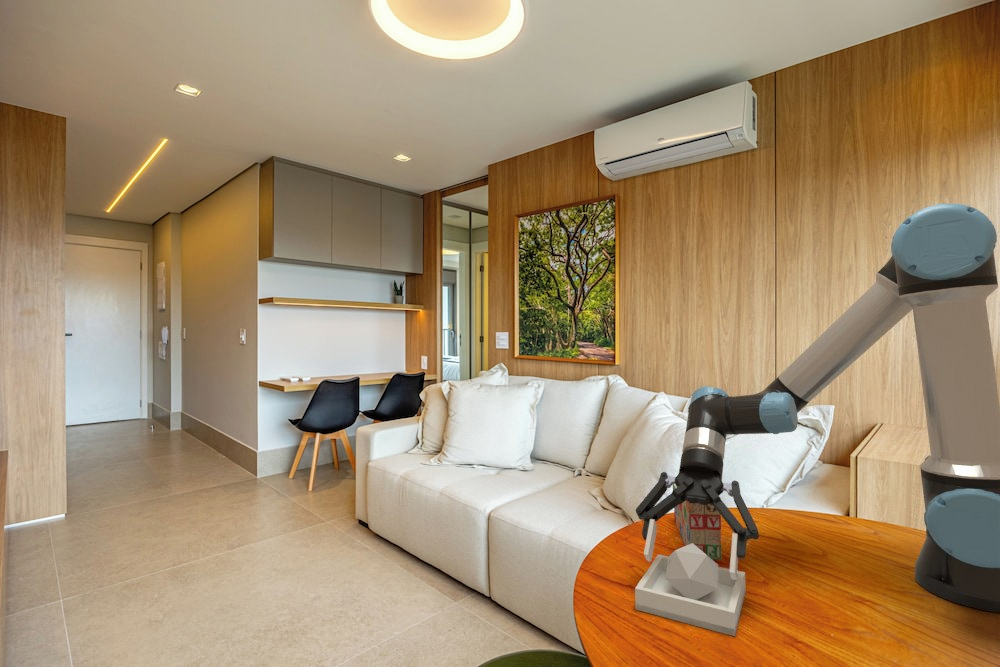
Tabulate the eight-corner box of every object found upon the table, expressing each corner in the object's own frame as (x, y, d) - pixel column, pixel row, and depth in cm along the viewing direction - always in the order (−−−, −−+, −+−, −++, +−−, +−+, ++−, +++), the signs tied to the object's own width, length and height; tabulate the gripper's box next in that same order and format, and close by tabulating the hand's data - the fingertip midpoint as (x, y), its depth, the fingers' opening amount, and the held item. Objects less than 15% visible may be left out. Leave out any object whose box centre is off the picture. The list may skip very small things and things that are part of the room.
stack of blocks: (673, 520, 123) (672, 470, 123) (700, 522, 121) (699, 471, 122) (689, 558, 102) (688, 498, 102) (722, 560, 100) (720, 499, 101)
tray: (745, 592, 88) (745, 572, 88) (734, 636, 75) (734, 612, 75) (658, 572, 95) (658, 554, 95) (635, 609, 83) (635, 588, 83)
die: (688, 581, 91) (656, 540, 91) (731, 568, 87) (698, 526, 86) (685, 618, 84) (650, 575, 84) (732, 607, 80) (696, 561, 79)
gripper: (777, 476, 92) (774, 594, 79) (642, 461, 105) (620, 560, 92) (774, 453, 87) (771, 574, 74) (633, 440, 101) (610, 541, 88)
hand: (688, 566), depth 83 cm, fingers open, 13 cm apart
